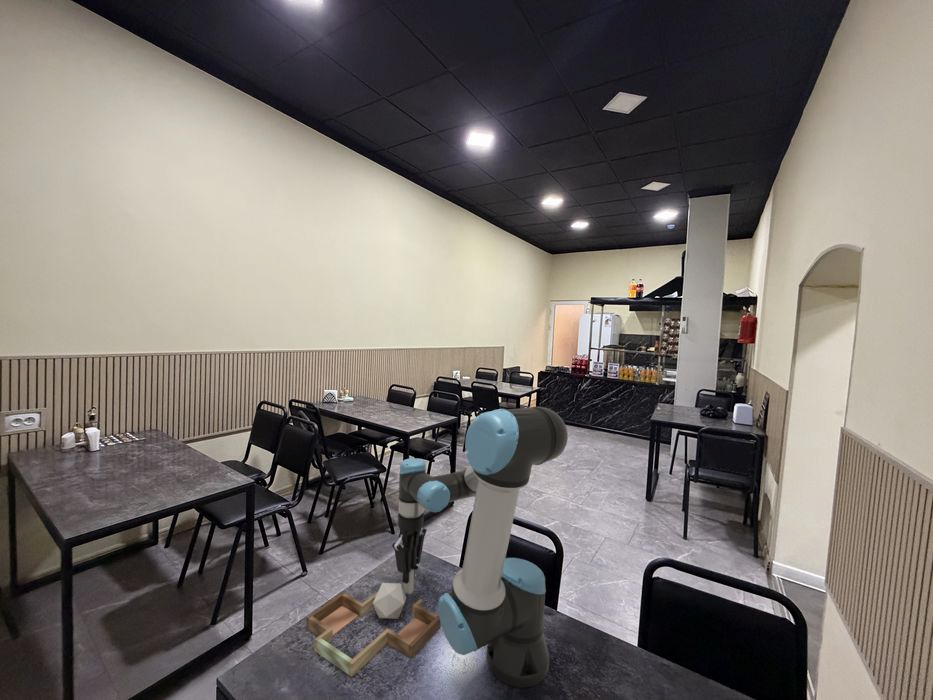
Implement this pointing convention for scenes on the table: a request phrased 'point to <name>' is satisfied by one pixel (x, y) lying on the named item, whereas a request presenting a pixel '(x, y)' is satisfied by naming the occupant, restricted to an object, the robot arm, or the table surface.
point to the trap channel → (405, 641)
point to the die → (389, 600)
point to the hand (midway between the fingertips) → (408, 591)
